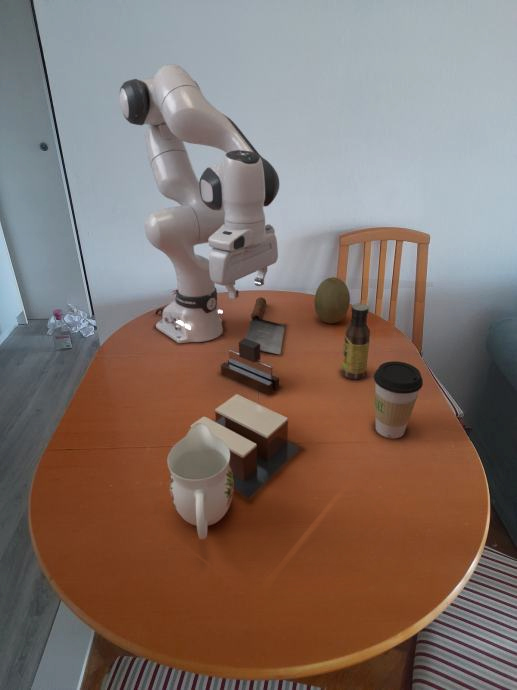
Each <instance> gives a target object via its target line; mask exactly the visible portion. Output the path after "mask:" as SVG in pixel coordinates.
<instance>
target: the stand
mask: <svg viewBox="0 0 517 690" xmlns="http://www.w3.org/2000/svg"><path fill="white" fill-rule="evenodd" d="M220 371H221V375H223V376H225V377H227V378H229V379H231V380H233V381H236V382H238V383H240V384H243V385H245V386H247V387H249V388H252V389H254V390H256V391H258V392H260V393H263V394H265V395H267V396H270V395H271V394H273V392H274V391H278V389H279V388H280V376H279V377H278V376H276V375H273V374H272V382H270V381H268V380H265V379H263V378H261V377H258V376H256V375H254V374H251V373H249V372H247V371H244V370H242V369H240V368H237V367H235V366H233V365H230V364H229V359H227V362H225V361H224V362H223V363H221V364H220Z"/></svg>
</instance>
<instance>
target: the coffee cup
mask: <svg viewBox="0 0 517 690" xmlns="http://www.w3.org/2000/svg"><path fill="white" fill-rule="evenodd" d="M373 381H374V383H375V386H374V417H375V430H376V432H377V433H378V434H379V435H380V436H382V437H385V438H388V439H399V438H401V437H403V435H405V432H406V430H407V429H406V428H407V427H408V426H407V425H408V423H409V422H410V419H411V416H412V413H413V410H414V407H415V404H416V402H417V399H418V395H419V391H421V389H422V388H423V385H424V380H423V377H422V374H421V371H420V370H419V368H417V367H416V366H415V365H412V364H410V363H407V362H403V361H398V360H396V361H394V360H393V361H386V362H383V363H381V364H380V365H379V366H378V368H377V369H376V370H375V371H374V374H373Z"/></svg>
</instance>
